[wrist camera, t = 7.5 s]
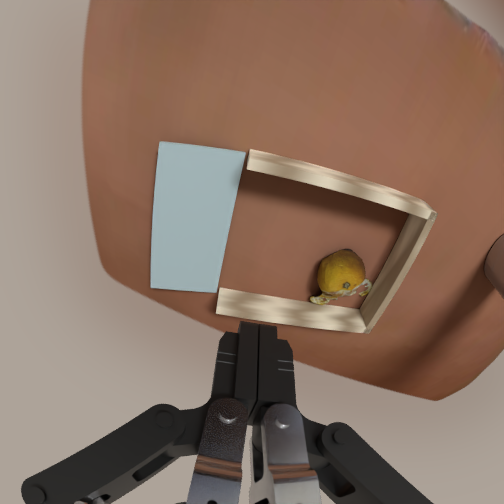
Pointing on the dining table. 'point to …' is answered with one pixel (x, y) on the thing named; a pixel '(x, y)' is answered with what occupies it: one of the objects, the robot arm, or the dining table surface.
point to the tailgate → (192, 214)
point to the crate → (385, 283)
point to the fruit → (341, 276)
